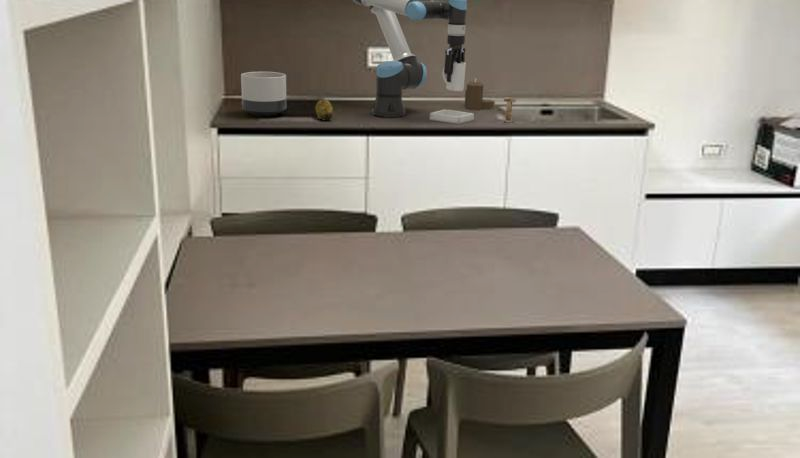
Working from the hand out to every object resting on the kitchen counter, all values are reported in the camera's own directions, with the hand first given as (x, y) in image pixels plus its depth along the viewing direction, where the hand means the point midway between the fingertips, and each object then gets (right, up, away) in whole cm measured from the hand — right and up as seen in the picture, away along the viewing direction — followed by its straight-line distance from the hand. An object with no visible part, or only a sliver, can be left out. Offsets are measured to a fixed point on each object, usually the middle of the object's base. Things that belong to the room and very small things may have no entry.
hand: (453, 88), depth 346 cm
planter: (-83, -12, +2) cm, 84 cm away
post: (+25, -14, +5) cm, 29 cm away
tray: (0, -13, +4) cm, 14 cm away
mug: (0, -1, 0) cm, 1 cm away
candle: (+14, -3, +36) cm, 39 cm away
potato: (-57, -14, -3) cm, 58 cm away
